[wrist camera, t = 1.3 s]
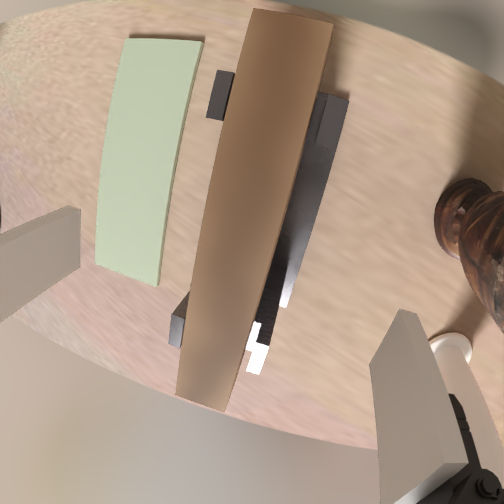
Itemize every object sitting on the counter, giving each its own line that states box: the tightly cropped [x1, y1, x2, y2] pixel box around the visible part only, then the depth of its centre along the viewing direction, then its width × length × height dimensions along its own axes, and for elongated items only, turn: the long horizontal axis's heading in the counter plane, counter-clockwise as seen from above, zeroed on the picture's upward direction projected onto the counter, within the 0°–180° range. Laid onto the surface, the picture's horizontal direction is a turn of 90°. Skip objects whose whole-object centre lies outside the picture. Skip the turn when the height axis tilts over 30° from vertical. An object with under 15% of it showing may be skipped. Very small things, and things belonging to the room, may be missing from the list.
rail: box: [175, 8, 334, 412], centre depth 16 cm, size 3×22×3 cm, turn 167°
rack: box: [168, 70, 349, 374], centre depth 21 cm, size 8×19×12 cm, turn 167°
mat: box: [95, 38, 204, 287], centre depth 28 cm, size 8×24×1 cm, turn 167°
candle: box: [429, 333, 504, 489], centre depth 18 cm, size 7×7×25 cm
